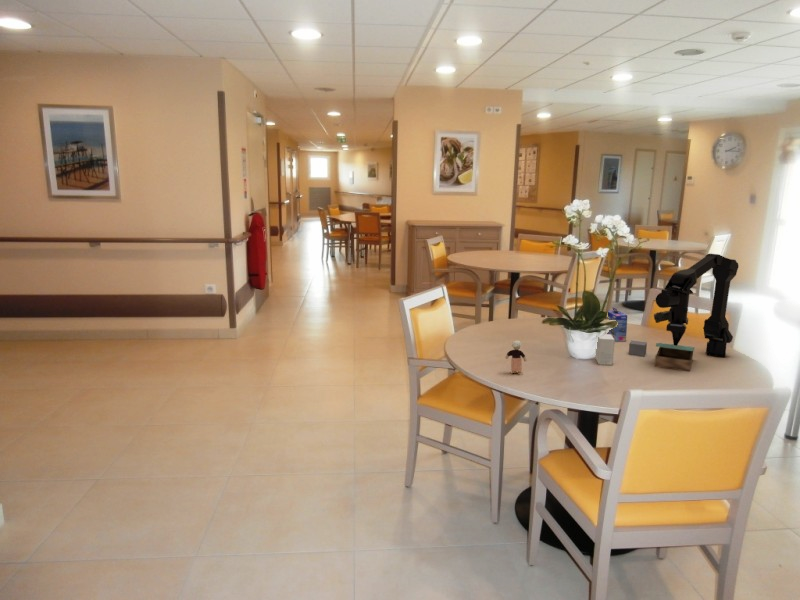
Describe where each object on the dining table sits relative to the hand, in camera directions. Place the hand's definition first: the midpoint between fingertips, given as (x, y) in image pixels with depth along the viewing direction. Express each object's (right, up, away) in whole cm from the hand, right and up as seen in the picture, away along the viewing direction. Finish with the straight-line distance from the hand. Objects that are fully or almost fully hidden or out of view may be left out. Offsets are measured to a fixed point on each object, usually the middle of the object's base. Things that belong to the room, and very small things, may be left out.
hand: (675, 345), depth 204 cm
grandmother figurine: (-63, -10, -6) cm, 64 cm away
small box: (-25, -7, +6) cm, 27 cm away
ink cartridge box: (-8, 0, +38) cm, 39 cm away
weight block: (-8, -5, +15) cm, 18 cm away
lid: (+1, -1, +2) cm, 3 cm away
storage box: (+1, -7, +4) cm, 8 cm away
